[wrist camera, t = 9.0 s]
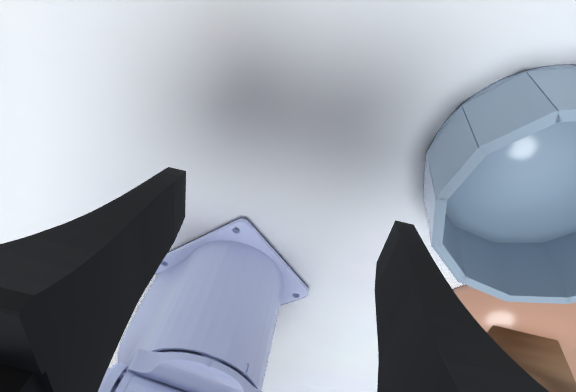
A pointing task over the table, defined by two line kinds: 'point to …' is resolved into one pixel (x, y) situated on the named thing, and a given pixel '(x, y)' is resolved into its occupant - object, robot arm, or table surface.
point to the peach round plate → (525, 318)
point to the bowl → (509, 188)
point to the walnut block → (537, 358)
